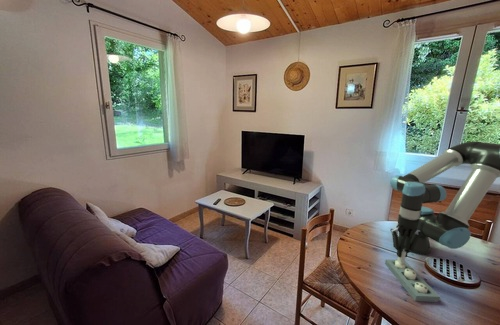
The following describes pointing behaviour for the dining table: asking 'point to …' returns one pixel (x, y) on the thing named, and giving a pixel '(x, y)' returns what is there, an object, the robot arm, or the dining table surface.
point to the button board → (412, 283)
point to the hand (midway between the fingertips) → (400, 262)
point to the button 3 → (421, 287)
